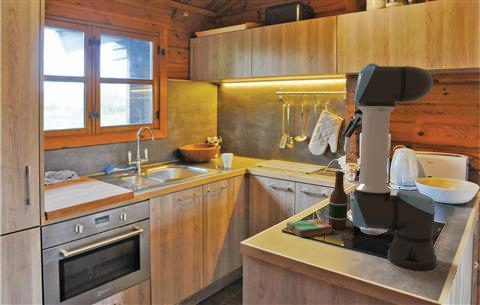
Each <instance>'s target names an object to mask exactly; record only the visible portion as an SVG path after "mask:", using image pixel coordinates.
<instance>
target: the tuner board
mask: <svg viewBox="0 0 480 305" xmlns="http://www.w3.org/2000/svg"><path fill="white" fill-rule="evenodd" d="M286 229H287V230H288V231H290V232H291V233H293V234H295V235H296V236H298V237H299V238H304V237H309V236H319V235H324V234H325V235H326V234H331V233H332V234H333V229H332V226H331V225H329V223H327V222H325V221H323V220H321V219H319V218H313V219H305V220H298V221H297V220H295V221H290V222H286Z"/></svg>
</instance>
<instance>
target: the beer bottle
mask: <svg viewBox="0 0 480 305" xmlns="http://www.w3.org/2000/svg"><path fill="white" fill-rule="evenodd" d="M344 175H345V172H344V171H342V170H336V171H335V180H334V181H335V182H334V188H333V191H332V192H331V194H330V197H329V204H328V206H329V207H328V209H329V210H328V224H329V225H331V226H332V230H337V231H342V230H346V227H347V220H348V219H347V217H348V196H347V193H346V191H345V189H344Z"/></svg>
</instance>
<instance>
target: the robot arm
mask: <svg viewBox="0 0 480 305" xmlns="http://www.w3.org/2000/svg"><path fill="white" fill-rule="evenodd" d="M358 72H359V73H358V76H357V82H356V86H355V91H354V92H355V93H354V99H353V101H354V102H355V103H356V104H355V109H354V112H355V116H352V115H349V119H348V122H347V124H346V126H345V127H344V130H343V132H342V134H341V136H342V137H344V142H343V144H344V146H343V151H344V152H345V153H350V150H351V149H350V148H351V143H352V136H353V134H354V133H355V132H356V131H357V129H358V128H360V127H361V144H360V162H359V163H360V166H359V167H360V168H359V183H358V184H357V185H356V186H354V192H353V191H352V192H350V193H349V198H350V199H349V202H350V210H351V211H350V212H351V221H352V224H353V225H354V226H355V227H358V228H364V229H373V230H374V229H376V230H388V231H389V230H390V231H394V237H393V239H392V242H391V244H390V246H389V248H388V250H387V260H388V261H389V262H390V263H392V264H393V265H396V266H399V267H400V268H404V269H408V270H414V271H430V270H433V269H436V267H437V264H438V262H437V261H438V260H437V255H436V252H435V247H434V244H433V237H434V227H435V226H434V224H435V216H436V203H435V200H434V199H433V198H432V197H430V196H428V195H427V194H424V193H421V192H416V191H413V190H412V191H411V190H404V189H403V190H398V191H397V193H396V194H392V193H391V192H392V191H391V189H390V187H389V186H388V185H387V176H388V173H387V172H388V156H389V155H388V154H389V139H390V138H389V135H390V118H391V117H390V116H391V113H392V111H394V110H395V109H396V104H397V103H411V102H416V101H418V100H421V99H423V98H425V97H427V95H428V94H429V93H430V91H432V88H433V87H434V78H433V75H432V74H431V72H430V71H428V70H426V69H424V68H421V67H417V66H410V65H409V66H408V65H407V66H406V65H405V66H404V65H402V66H399V65H398V66H394V65H391V66H390V65H386V66H383V65H382V66H381V65H378V64H376V63H372V62H371V63H368V64H366V65H365V66H364V67H362V68H361V69H360V70H359V71H358Z"/></svg>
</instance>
